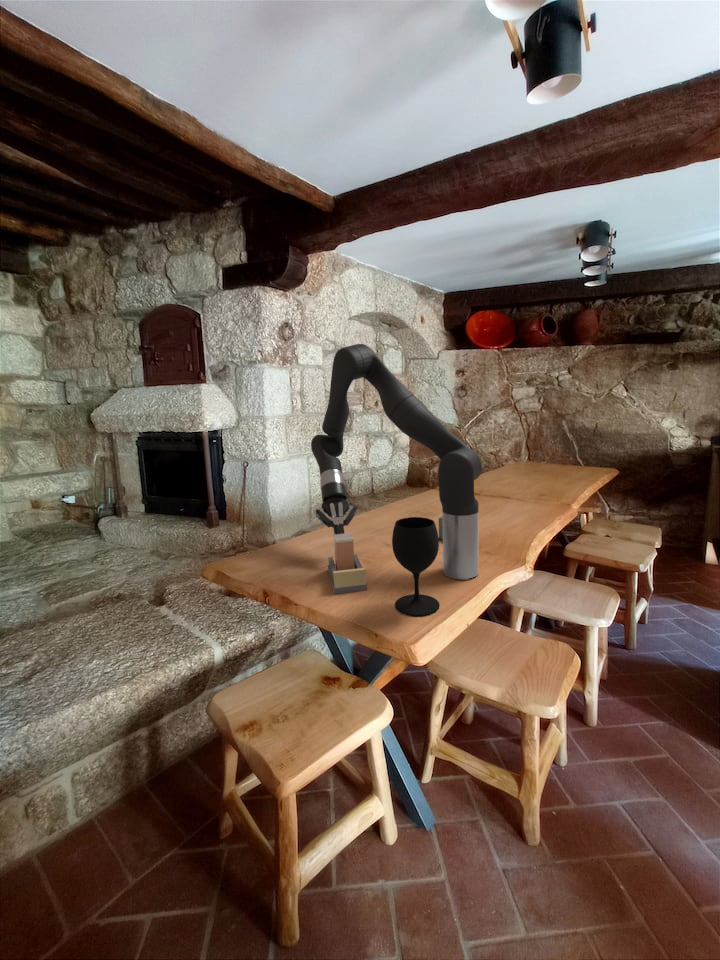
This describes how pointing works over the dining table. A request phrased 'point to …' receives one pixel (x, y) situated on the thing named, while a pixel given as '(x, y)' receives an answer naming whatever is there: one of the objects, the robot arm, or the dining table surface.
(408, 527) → the wine glass
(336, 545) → the block
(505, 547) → the dining table surface
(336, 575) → the key track
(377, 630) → the dining table surface
